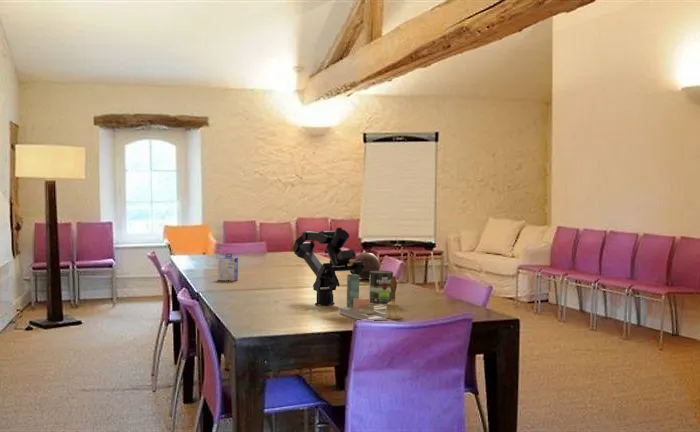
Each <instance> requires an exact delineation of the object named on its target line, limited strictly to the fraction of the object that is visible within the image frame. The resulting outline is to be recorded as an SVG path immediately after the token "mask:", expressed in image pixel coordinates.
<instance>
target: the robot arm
mask: <svg viewBox="0 0 700 432" xmlns="http://www.w3.org/2000/svg"><path fill="white" fill-rule="evenodd" d="M349 238H350V234H349V232H348V231H346V230H345V229H343V227H336V229H335V230H322V231H317V232H316V231H308V230H307V231H306V230H305V231H303V232H302V234H301V235H300V236H299V237H298V238H297V239H295V241H294V244H293V246H292V250H293V252H294V254H295V255H296V256H297V257H298V258H300V259H303V261H305V263H306V264H307V265H308V267H309V268H310V270H311V271H312V273H313V274H314V275H315V276H316V278H315V282H314V283H313V285H312V288H313V291H315V292H316V302H315V303H314V305H315V306H324V307H328V306H332V305H335V302H334V293H333V291H336V290H337V287H340V281H339V279H338V277H337V275H336V272H348V271H349V273H350V274H356V275H359V274H360V273H361V271H362V269H363V268H364V264H363V262H361V261H360V262H354V261H353V263H352V264H351V265H349V264H350V262H351V261H350V260H351V259H354V258H356V257H357V255H356V250H355V249H353V248H351V249H348V250H346V249H345V250H342V248H344V246H345V245H346V243H347V242H348V240H349ZM314 241H315V242H318V244H321V245H326V247H325V249H324V254H327V255H328V257H329V259H330V260H329V262H323V263H321V262H320V260H319V259H318V258H317V256H316V255H315V253H314V252H313V251H314V248H315V246H316V245H315V242H314Z"/></svg>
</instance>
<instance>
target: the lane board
mask: <svg viewBox="0 0 700 432" xmlns="http://www.w3.org/2000/svg"><path fill="white" fill-rule="evenodd" d="M378 306H382V307H386V308H387V305H386V306H384V305H378ZM338 312H339V314H341V315H343V316H345V317H346V316H347V317H349V318H353V319H356V320H358V319H367V320H382V321H387V318H386V314H385V312H379V311H375V309H374V314H367V315H366V314H362V313H359V312H356V311H353V310H349V309H346V308H344V307H342V306H339V311H338Z"/></svg>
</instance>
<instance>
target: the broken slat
mask: <svg viewBox="0 0 700 432" xmlns="http://www.w3.org/2000/svg"><path fill="white" fill-rule="evenodd" d="M373 306H374V309H375V311H379V312H385V311H386V307H382V306H379V305H373Z"/></svg>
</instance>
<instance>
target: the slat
mask: <svg viewBox="0 0 700 432" xmlns="http://www.w3.org/2000/svg"><path fill="white" fill-rule="evenodd" d="M346 277H347V278H346V279H347V281H346V306H345V307H343V308H346V309H349V310H353V311H356V312H359V313H362V314H366V315H367V314H374V306H375V305H371V304H369V306H358V311H357V310H354V309H353V298H360V278H359V275H356V274H351V273H350V274H347V275H346Z"/></svg>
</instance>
